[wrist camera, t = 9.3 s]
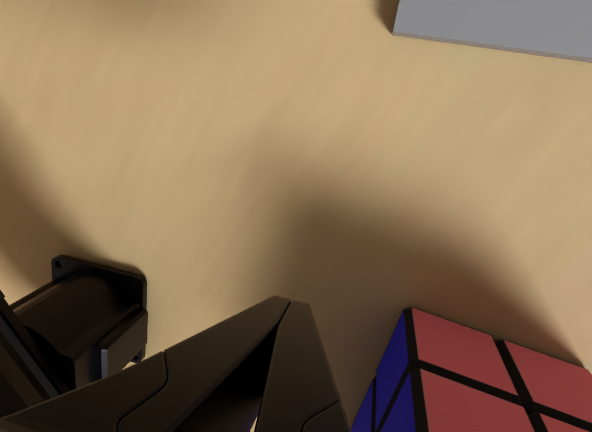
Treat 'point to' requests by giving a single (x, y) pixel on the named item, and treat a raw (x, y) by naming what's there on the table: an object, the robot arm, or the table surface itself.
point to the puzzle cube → (470, 384)
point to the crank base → (502, 25)
